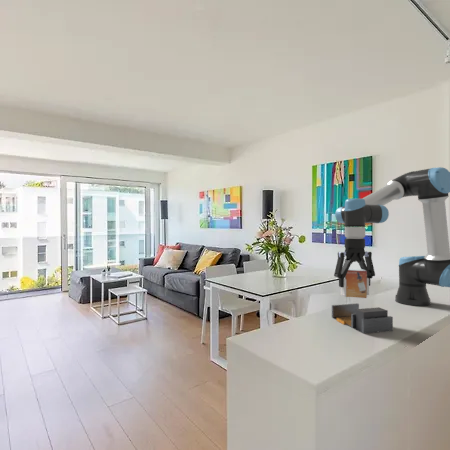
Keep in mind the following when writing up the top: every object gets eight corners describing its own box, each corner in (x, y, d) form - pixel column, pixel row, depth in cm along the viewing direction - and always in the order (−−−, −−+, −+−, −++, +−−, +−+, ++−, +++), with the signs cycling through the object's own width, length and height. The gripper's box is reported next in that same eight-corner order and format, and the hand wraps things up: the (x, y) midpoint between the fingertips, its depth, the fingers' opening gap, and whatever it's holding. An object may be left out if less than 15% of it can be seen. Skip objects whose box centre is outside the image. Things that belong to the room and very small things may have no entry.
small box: (345, 297, 123) (345, 270, 123) (342, 294, 129) (342, 268, 129) (367, 298, 122) (367, 270, 122) (363, 295, 127) (363, 268, 127)
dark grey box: (379, 326, 119) (379, 307, 119) (387, 329, 115) (387, 310, 115) (355, 328, 117) (355, 309, 117) (363, 332, 113) (363, 312, 113)
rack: (357, 317, 133) (357, 303, 133) (392, 333, 114) (392, 316, 114) (330, 319, 130) (330, 305, 130) (361, 336, 111) (361, 319, 111)
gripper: (372, 237, 131) (372, 291, 131) (324, 237, 126) (324, 294, 126) (385, 238, 124) (385, 295, 124) (335, 238, 119) (335, 298, 119)
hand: (354, 294), depth 125 cm, fingers closed on small box, 9 cm apart
